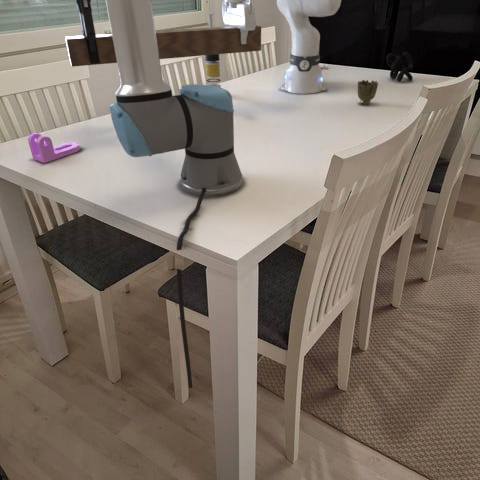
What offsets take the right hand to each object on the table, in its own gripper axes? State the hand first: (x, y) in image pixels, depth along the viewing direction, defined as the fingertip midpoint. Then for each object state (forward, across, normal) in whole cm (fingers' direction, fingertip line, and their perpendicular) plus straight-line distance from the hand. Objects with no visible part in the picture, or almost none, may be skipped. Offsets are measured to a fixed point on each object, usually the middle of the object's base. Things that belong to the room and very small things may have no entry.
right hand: (239, 42), depth 150 cm
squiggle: (+24, +15, -84) cm, 88 cm away
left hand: (+2, 0, +48) cm, 48 cm away
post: (+2, 0, +24) cm, 24 cm away
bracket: (+23, -17, +64) cm, 70 cm away
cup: (+24, -11, -46) cm, 53 cm away
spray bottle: (+24, +50, -56) cm, 79 cm away
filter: (+24, +26, +1) cm, 35 cm away
